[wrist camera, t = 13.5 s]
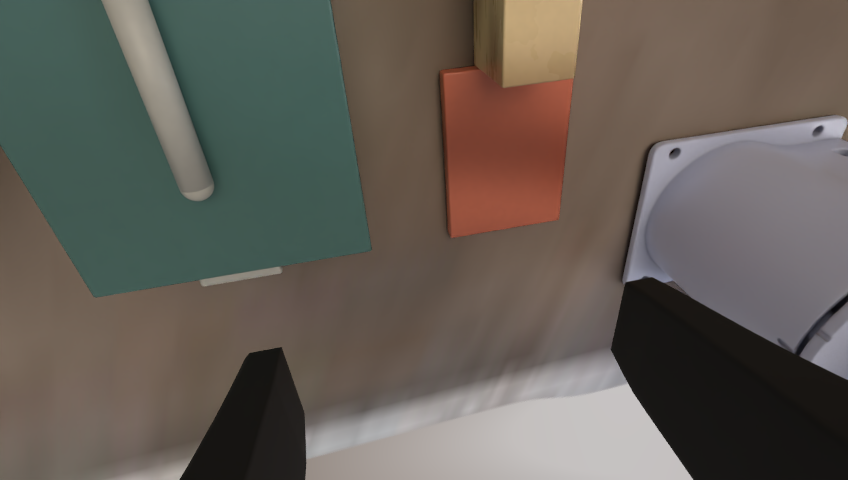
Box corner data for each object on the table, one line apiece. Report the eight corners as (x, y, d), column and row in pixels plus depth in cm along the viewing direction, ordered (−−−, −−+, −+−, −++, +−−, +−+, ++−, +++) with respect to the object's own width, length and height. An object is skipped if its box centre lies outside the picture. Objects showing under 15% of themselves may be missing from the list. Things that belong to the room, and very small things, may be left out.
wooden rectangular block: (554, 213, 21) (587, 252, 19) (447, 231, 21) (466, 274, 18) (614, -423, 11) (704, -531, 9) (412, -423, 11) (442, -538, 8)
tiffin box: (290, -236, 12) (270, -363, 7) (361, 186, 19) (377, 279, 14) (-51, -221, 11) (-366, -354, 6) (153, 218, 18) (87, 330, 13)
